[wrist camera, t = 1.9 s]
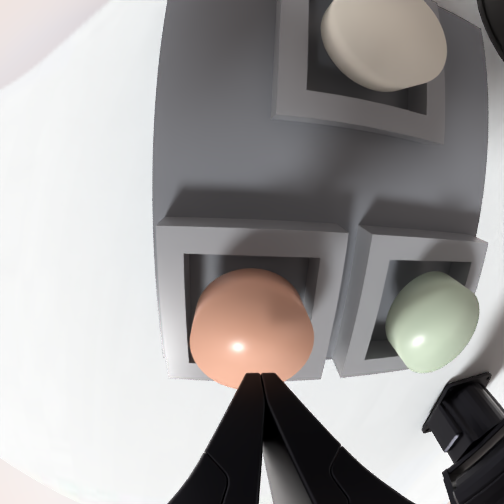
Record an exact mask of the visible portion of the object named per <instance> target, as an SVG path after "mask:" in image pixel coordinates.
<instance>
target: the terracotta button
mask: <svg viewBox="0 0 504 504" xmlns="http://www.w3.org/2000/svg"><path fill="white" fill-rule="evenodd" d="M313 345H314V331H313V326H312V324H311V321H310V319H309V316H308V314H307V312H306V309H305V307H304V305H303V302H302V300H301V298H300V296H299V294H298V292H297V290H296V289H295V288H294V287H293V285H292V284H291V283H290V282H288V281H287V280H286V279H285V278H283V277H282V276H280V275H278V274H276V273H274V272H271V271H268V270H263V269H256V268H245V269H238V270H234V271H231V272H228V273H226V274H223V275H222V276H220V277H218V278H216V279H215V280H214V281H212V282H211V283H210V284H209V285H208V286H207V287H206V288H205V290H204V291H203V292H202V294H201V296H200V298H199V300H198V302H197V306H196V310H195V315H194V320H193V324H192V329H191V334H190V349H191V353H192V356H193V358H194V361H195V363H196V364H197V365H198V367H199V368H200V369H201V370H202V372H203V373H204V374H206V375H207V376H208V377H209V378H211V379H212V380H214V381H216V382H218V383H220V384H222V385H225V386H227V387H231V388H235V389H238V387H239V385H240V383H241V381H242V379H243V377H244V376H245V374H246V373H260V375H261V373H269V372H273V373H276V374H277V375H278V376H279V378H280V379H281V380H282V381H283V382H284V381H286V380H288V379H289V378H291V377H292V376H294V375H295V374H296V373H297V372H298V371H299V370H300V369H301V368H302V367H303V366H304V365H305V363H306V362H307V360H308V359H309V357H310V354H311V352H312V349H313Z"/></svg>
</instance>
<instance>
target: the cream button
mask: <svg viewBox="0 0 504 504" xmlns="http://www.w3.org/2000/svg"><path fill="white" fill-rule="evenodd" d="M321 36H322V41H323V44H324V47H325V49H326V51H327V53H328V55H329V57H330V58H331V60H332V61H333V63H334V64H335V65H336V66H337V67H338V68H339V70H340V71H341V72H342V73H344V74H345V75H346V76H347V77H348V78H350V79H351V80H353V81H354V82H356V83H357V84H359V85H361V86H363V87H366V88H368V89H371V90H374V91H380V92H394V91H398V90H401V89H405V88H408V87H412V86H416V85H419V84H423V83H427V82H429V81H431V80H433V79H434V78H436V77H437V76H438V75H439V74H440V72H441V71H442V69H443V67H444V65H445V62H446V57H447V44H446V38H445V35H444V31H443V29H442V26H441V24H440V22H439V20H438V18H437V17H436V15H435V14H434V12H433V11H432V10H431V8H430V7H429V6H428V5H427V4H426V2H425V1H424V0H333V2H332V3H331V4H330V6H329V7H328V8H327V10H326V11H325V13H324V15H323V18H322V22H321Z"/></svg>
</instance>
